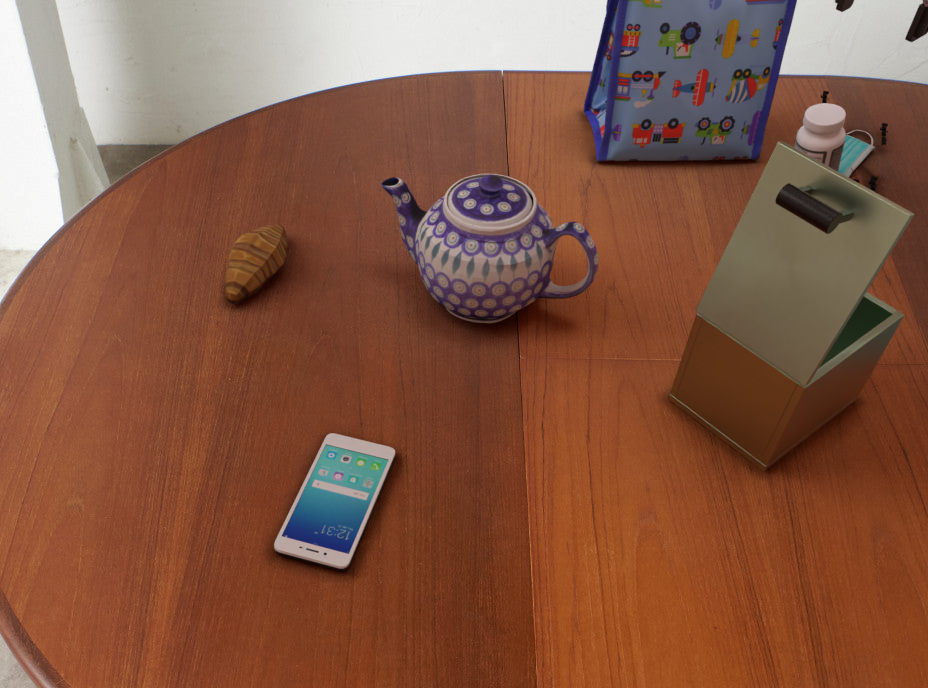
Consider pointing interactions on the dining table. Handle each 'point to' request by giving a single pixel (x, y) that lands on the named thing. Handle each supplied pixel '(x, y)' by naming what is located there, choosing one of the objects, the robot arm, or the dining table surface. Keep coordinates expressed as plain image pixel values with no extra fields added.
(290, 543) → the smartphone
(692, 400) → the waste bin
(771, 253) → the bin lid
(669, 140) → the lunch bag
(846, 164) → the surgical mask
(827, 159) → the pill bottle
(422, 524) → the dining table surface
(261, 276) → the croissant
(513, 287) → the teapot
